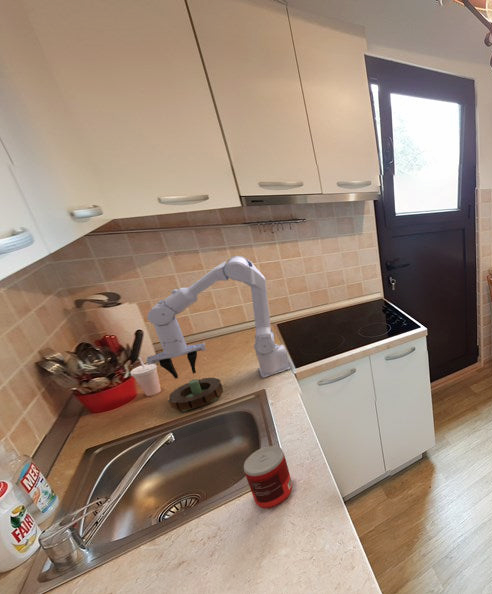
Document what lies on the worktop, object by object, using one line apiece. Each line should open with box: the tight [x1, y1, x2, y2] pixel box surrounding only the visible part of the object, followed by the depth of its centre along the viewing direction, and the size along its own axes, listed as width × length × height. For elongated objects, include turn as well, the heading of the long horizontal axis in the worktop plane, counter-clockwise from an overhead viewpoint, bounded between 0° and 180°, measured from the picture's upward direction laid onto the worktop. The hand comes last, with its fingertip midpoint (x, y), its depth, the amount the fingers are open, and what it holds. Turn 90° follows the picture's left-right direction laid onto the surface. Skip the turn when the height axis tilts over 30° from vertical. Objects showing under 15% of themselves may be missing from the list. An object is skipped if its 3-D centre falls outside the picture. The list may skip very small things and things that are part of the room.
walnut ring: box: [168, 377, 224, 411], centre depth 109 cm, size 13×13×3 cm
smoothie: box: [129, 356, 162, 397], centre depth 111 cm, size 6×6×14 cm
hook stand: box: [181, 378, 218, 413], centre depth 108 cm, size 9×9×7 cm
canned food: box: [243, 445, 293, 510], centre depth 75 cm, size 8×8×11 cm
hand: (185, 374), depth 112 cm, fingers open, 4 cm apart
